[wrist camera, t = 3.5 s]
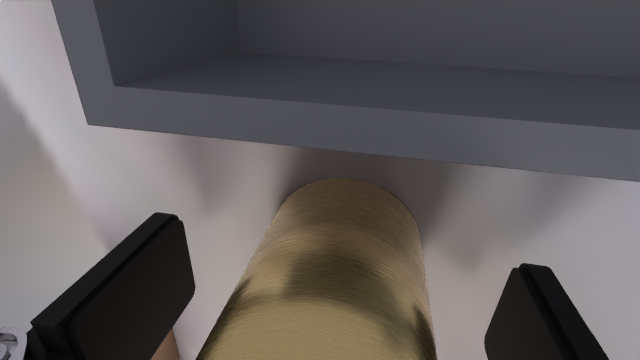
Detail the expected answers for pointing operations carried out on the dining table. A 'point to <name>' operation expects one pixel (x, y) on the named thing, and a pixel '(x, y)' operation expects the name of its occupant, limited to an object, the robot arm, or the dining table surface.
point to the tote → (372, 76)
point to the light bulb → (331, 282)
